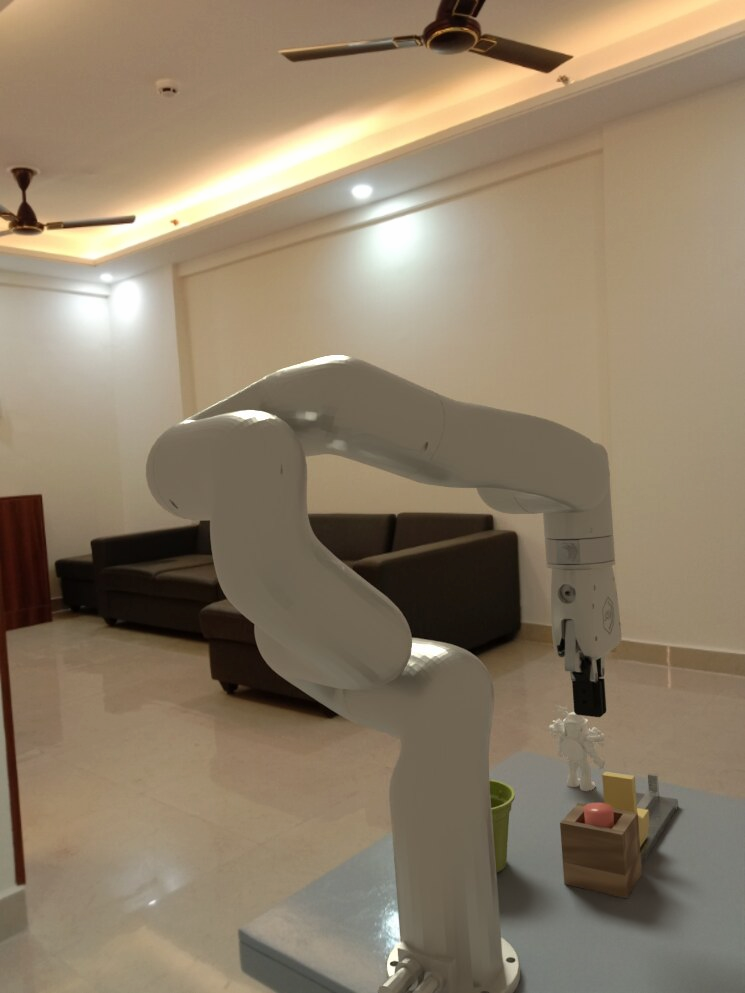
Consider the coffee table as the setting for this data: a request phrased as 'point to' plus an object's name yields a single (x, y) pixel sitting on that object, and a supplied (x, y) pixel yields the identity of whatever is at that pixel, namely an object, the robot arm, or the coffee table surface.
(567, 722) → the flower shoulder figurine
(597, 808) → the plunger
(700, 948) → the coffee table surface
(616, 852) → the wooden box
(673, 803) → the rail
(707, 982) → the coffee table surface
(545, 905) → the coffee table surface
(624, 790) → the carriage
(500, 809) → the plant pot
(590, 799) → the coffee table surface
